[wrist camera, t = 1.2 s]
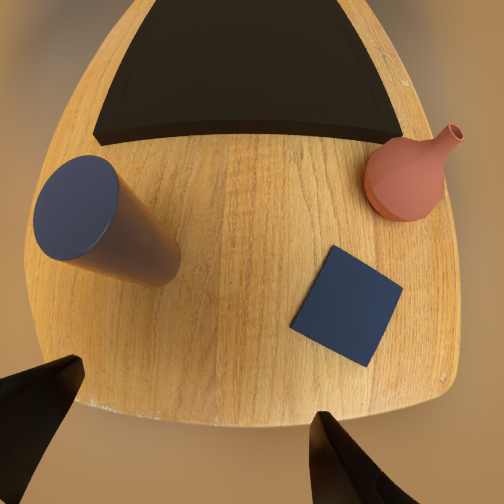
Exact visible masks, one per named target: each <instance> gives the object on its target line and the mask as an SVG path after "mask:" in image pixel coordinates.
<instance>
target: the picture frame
mask: <svg viewBox="0 0 504 504" xmlns="http://www.w3.org/2000/svg"><path fill="white" fill-rule="evenodd" d="M207 134H287V135H305V136H319V137H330V138H340V139H349V140H357V141H365V142H372V143H379V144H385V143H386V142H388V141H389V140H390V139H392V138H396V137H402V136H403V133H402V130H401V128H400V125H399V122H398V119H397V117H396V114H395V111H394V109H393V106H392V104H391V101H390V99H389V96H388V94H387V92H386V89H385V87H384V85H383V82H382V80H381V78H380V76H379V74H378V72H377V70H376V67H375V65H374V63H373V61H372V59H371V57H370V55H369V54H368V52H367V50H366V48H365V46H364V44H363V42H362V41H361V39H360V37H359V35H358V34H357V32H356V30H355V28H354V27H353V25H352V23H351V22H350V20H349V18H348V17H347V15H346V14H345V12H344V11H343V9H342V8H341V6H340V5H339V3H338V2H337V0H156V1H155V3H154V4H153V6H152V7H151V9H150V11H149V12H148V14H147V15H146V17H145V19H144V20H143V22H142V24H141V26H140V27H139V29H138V31H137V33H136V34H135V36H134V38H133V40H132V42H131V44H130V45H129V47H128V49H127V51H126V53H125V55H124V57H123V59H122V61H121V64H120V66H119V68H118V70H117V72H116V74H115V77H114V79H113V81H112V84H111V86H110V88H109V91H108V93H107V96H106V98H105V101H104V103H103V106H102V109H101V111H100V114H99V117H98V120H97V123H96V126H95V129H94V132H93V135H94V137H95V138H96V139H97V141H98V142H99V143H100V145H101V146H103V145H109V144H116V143H122V142H129V141H137V140H145V139H154V138H164V137H175V136H189V135H207Z"/></svg>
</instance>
